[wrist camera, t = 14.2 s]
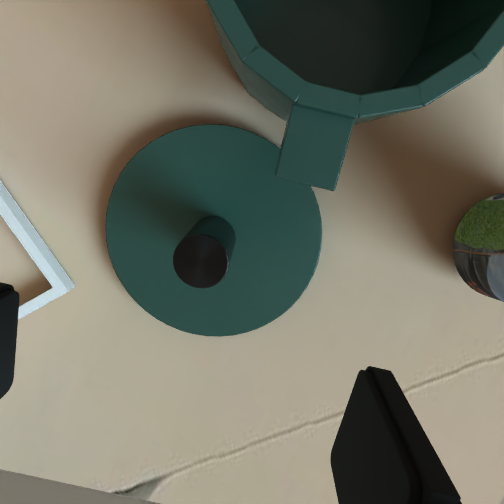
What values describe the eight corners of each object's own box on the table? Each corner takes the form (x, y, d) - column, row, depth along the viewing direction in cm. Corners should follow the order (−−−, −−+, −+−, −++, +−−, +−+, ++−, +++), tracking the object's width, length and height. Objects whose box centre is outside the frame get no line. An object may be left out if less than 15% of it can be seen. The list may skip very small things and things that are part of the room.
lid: (344, 153, 22) (375, 155, 16) (290, 347, 26) (299, 406, 20) (128, 101, 22) (79, 84, 16) (99, 305, 25) (50, 353, 19)
